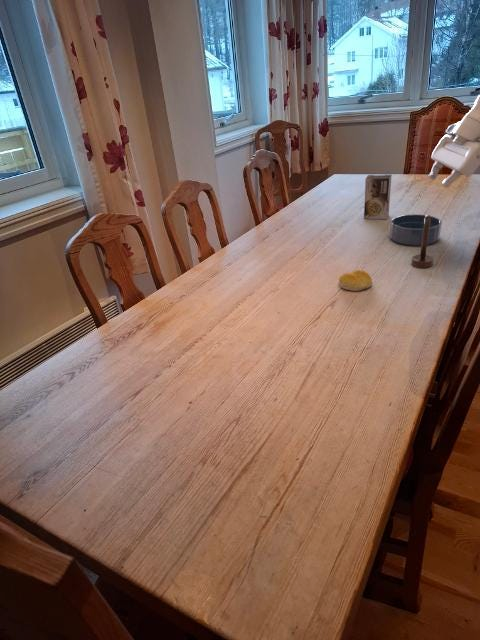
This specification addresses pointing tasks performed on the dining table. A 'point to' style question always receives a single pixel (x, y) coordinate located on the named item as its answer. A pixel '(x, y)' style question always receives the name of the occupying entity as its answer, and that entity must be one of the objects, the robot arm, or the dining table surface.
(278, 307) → the dining table surface
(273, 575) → the dining table surface
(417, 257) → the wooden peg stand
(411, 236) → the bowl
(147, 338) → the dining table surface
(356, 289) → the bread roll
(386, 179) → the coffee box
